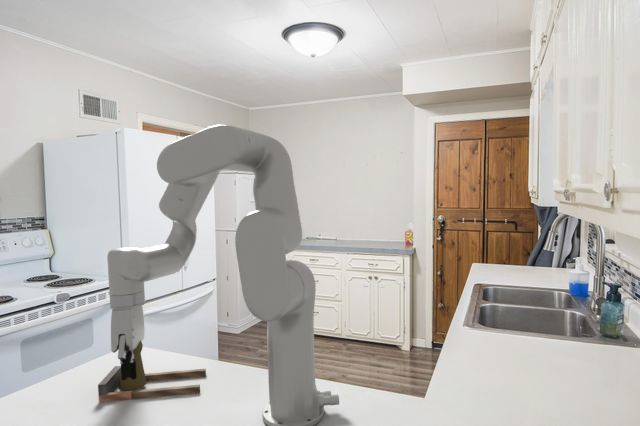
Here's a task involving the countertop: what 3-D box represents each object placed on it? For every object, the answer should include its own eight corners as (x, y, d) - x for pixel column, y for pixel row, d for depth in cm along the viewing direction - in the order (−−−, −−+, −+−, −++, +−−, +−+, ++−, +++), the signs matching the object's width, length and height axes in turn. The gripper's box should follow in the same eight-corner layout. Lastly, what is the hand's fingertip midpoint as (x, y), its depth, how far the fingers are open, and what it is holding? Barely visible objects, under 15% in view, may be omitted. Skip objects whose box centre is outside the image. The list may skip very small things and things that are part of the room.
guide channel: (205, 374, 106) (205, 359, 106) (199, 393, 96) (198, 376, 95) (115, 382, 103) (114, 366, 103) (98, 402, 93) (97, 384, 93)
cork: (136, 391, 95) (133, 345, 95) (113, 390, 97) (110, 344, 96) (151, 380, 101) (149, 336, 101) (129, 379, 102) (127, 335, 102)
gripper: (123, 293, 106) (127, 363, 106) (96, 309, 89) (101, 393, 90) (153, 291, 106) (157, 361, 107) (133, 307, 90) (137, 389, 91)
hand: (131, 375), depth 98 cm, fingers closed on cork, 3 cm apart
